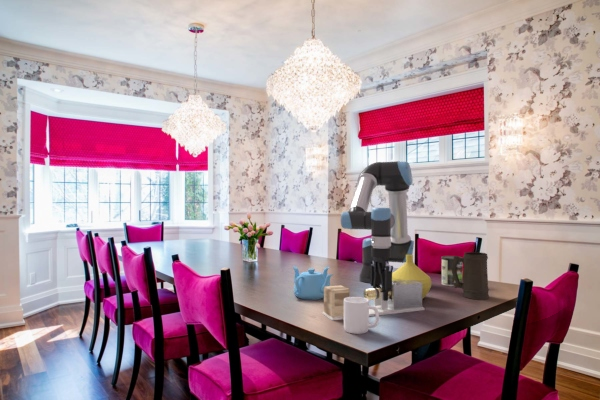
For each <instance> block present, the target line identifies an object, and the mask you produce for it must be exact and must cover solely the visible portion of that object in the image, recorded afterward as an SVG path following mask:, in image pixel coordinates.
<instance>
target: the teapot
mask: <svg viewBox="0 0 600 400" xmlns="http://www.w3.org/2000/svg"><path fill="white" fill-rule="evenodd" d="M292 267H293V270H294V278H293V281H294V282H293V283H294V286H293V295H295V296H296V297H297V298H299V299H302V300H309V301H310V300H314V301H315V300H321V299H322V300H323V299H324V287H326V286H331V278H332V276H333V275H334V273H331V274H330V273H329V274H328V270H329V268H330V266H326V267H325V268H324V269H323V271H322V272H319V271H315V268H308V269H307V271H302V272H301V273H300V272H299V269H298V267H297V266H295V265H293V266H292Z"/></svg>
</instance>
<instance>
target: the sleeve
mask: <svg viewBox="0 0 600 400" xmlns="http://www.w3.org/2000/svg"><path fill="white" fill-rule="evenodd" d="M422 307H423V299H422V283H421V282H418V281H414V280H400V281H392V297H391V298H388V308H389V309H391V310H393V311H394V310H403V309H412V308H422Z"/></svg>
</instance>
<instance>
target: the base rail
mask: <svg viewBox="0 0 600 400" xmlns="http://www.w3.org/2000/svg"><path fill="white" fill-rule="evenodd" d="M375 307H376V308H377V310H378V312H379V316H383V315H393V314H401V313H403V314H404V313H411V312H412V313H413V312H419V311H425V307H423V306H422V308H412V309H403V310H394V311H393V310H391V309H389V308H388V309H381V305H380V306H375ZM321 314H322V315H323V316H325V317H326V318H328V319H329V320H330V321H340V320H344V316H340V317H330V316H329V315H327V314H326V313H324V310H323V311H321ZM374 316H375V317H376V314H375V311H374V310H373V309H369V317H374Z"/></svg>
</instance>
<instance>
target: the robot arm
mask: <svg viewBox="0 0 600 400" xmlns="http://www.w3.org/2000/svg"><path fill="white" fill-rule="evenodd" d="M411 169H412V168H411V166H410V163H409V161H408V162H407V161H399V160H398V161H383V162H382V161H377V162H374V163H371V164H370V165H367V166H366V167H365V168H363V170H362V171H361V172H360V173H359V175H358V176H357V179H356V182H357V187H356V189H355V192H354V195H353V198H352V200H351V203H350V207H349V208H348V209H349V210H347V211H343V212H341V214H340V225H341V227H342V229H347V230H371V234H370V235H371V237H367V238H364V239H363V240H362V248H361V249H362V267H361V269H360V273H359V277H358V278H359V279H358V280H359V282H363V283H369V284H370V286H371V287H372V289H373V288H382V291H380V292H381V299H373V306H381V309H388V292H389V291H392V273H393V272H394V271H393V270H394V265H390V264H389V263H401V264H404V263H405V262H406V255H413V254H414V244H415V241H414V240H412V238H411V235H409V233H408V209H407V208H408V207H407V191H408V190H409V189H410V187H411V186H412V184H413V178H412V177H413V174H412V170H411ZM377 186H381V187H382V186H384V189H385V191H386V192H388V204H389V205H388V207H372V209H371V211H368V208H369V205H370V201H371V198H372V196H373V195H372V194H373V191H374V189H376V188H377ZM413 256H414V255H413Z"/></svg>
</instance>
